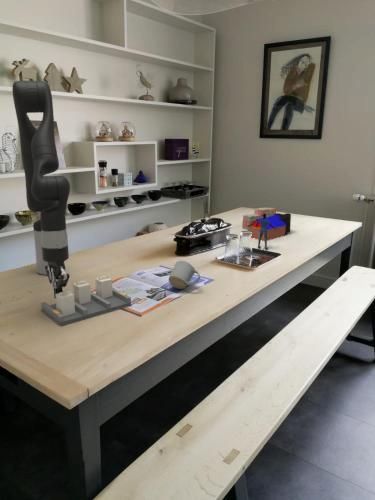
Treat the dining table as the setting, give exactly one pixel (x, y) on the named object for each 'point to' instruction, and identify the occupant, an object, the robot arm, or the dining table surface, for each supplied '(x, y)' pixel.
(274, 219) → the house
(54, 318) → the switch bank
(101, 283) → the white rectangular block
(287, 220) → the pen holder
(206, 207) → the pliers
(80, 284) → the off-white rectangular block
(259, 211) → the stack of blocks
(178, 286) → the ceramic mug
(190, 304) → the dining table surface
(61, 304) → the cream upright block
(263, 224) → the person figurine
